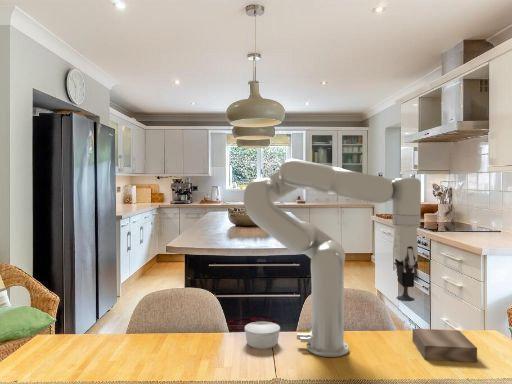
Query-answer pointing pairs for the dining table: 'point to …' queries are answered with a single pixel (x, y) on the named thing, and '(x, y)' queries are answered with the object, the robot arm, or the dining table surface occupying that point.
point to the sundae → (399, 273)
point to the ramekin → (262, 334)
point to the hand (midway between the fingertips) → (405, 283)
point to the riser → (444, 345)
